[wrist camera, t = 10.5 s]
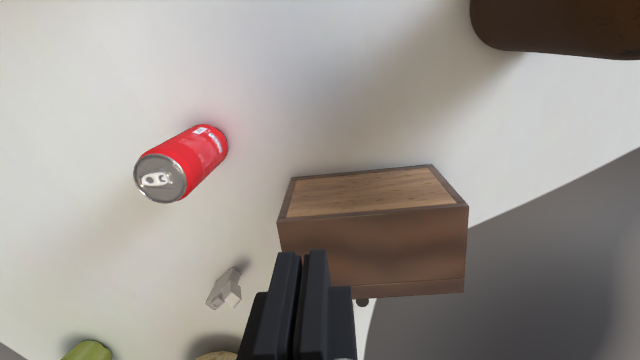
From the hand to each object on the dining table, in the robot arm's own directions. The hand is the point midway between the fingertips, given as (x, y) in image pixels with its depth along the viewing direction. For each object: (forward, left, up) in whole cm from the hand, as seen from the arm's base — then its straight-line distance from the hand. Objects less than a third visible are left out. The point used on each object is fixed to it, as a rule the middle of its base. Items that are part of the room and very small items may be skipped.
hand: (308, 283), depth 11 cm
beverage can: (+5, -14, -28) cm, 32 cm away
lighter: (+24, -10, -28) cm, 38 cm away
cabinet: (+9, +6, -28) cm, 30 cm away
